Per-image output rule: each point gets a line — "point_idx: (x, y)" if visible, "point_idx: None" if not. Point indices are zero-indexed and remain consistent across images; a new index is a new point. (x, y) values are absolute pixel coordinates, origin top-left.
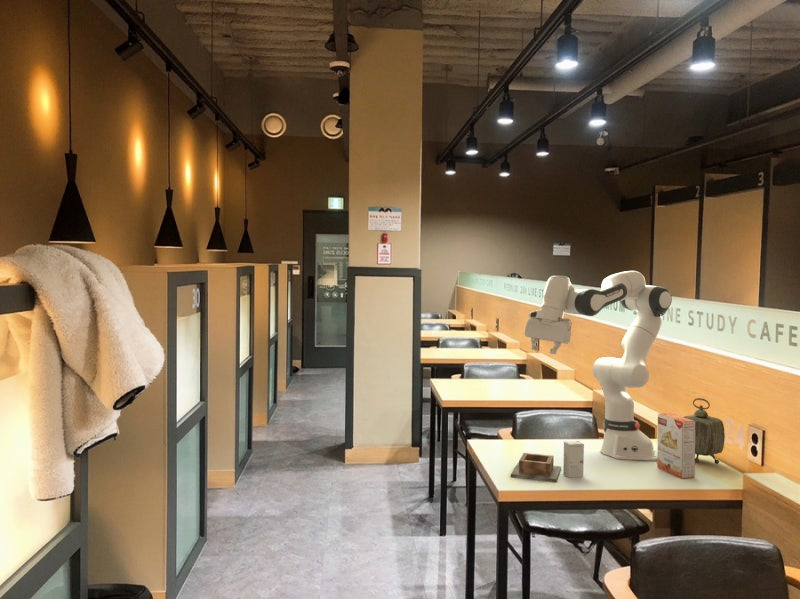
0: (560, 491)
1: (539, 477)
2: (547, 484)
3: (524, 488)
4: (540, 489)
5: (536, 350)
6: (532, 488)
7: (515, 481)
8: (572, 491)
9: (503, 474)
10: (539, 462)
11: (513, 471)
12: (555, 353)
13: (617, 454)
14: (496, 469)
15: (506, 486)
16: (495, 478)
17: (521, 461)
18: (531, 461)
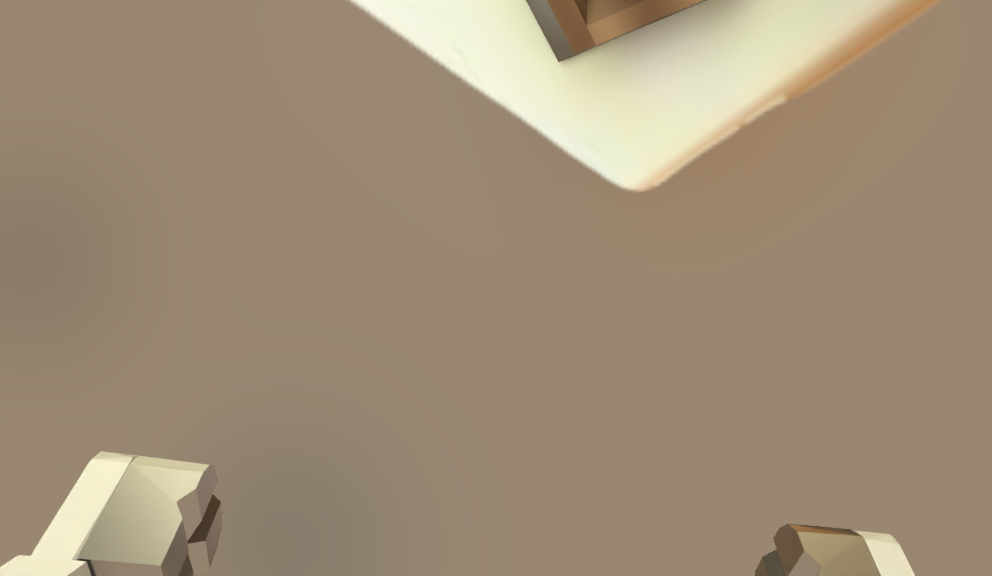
0: (849, 60)
1: (697, 3)
2: (758, 21)
3: (692, 131)
4: (757, 98)
5: (213, 473)
6: (721, 110)
7: (613, 89)
8: (906, 22)
9: (511, 49)
10: (681, 3)
11: (543, 21)
12: (888, 549)
13: None
14: (434, 11)
15: (620, 158)
16: (524, 115)
17: (587, 47)
18: (636, 21)
